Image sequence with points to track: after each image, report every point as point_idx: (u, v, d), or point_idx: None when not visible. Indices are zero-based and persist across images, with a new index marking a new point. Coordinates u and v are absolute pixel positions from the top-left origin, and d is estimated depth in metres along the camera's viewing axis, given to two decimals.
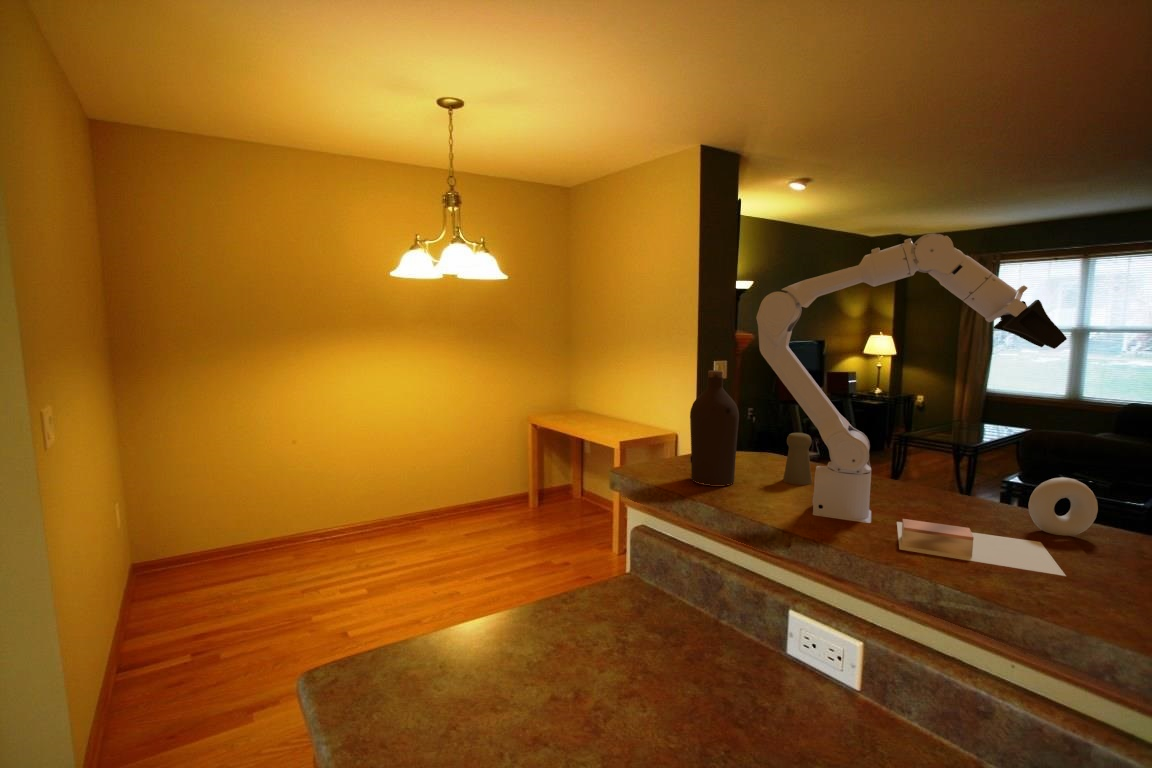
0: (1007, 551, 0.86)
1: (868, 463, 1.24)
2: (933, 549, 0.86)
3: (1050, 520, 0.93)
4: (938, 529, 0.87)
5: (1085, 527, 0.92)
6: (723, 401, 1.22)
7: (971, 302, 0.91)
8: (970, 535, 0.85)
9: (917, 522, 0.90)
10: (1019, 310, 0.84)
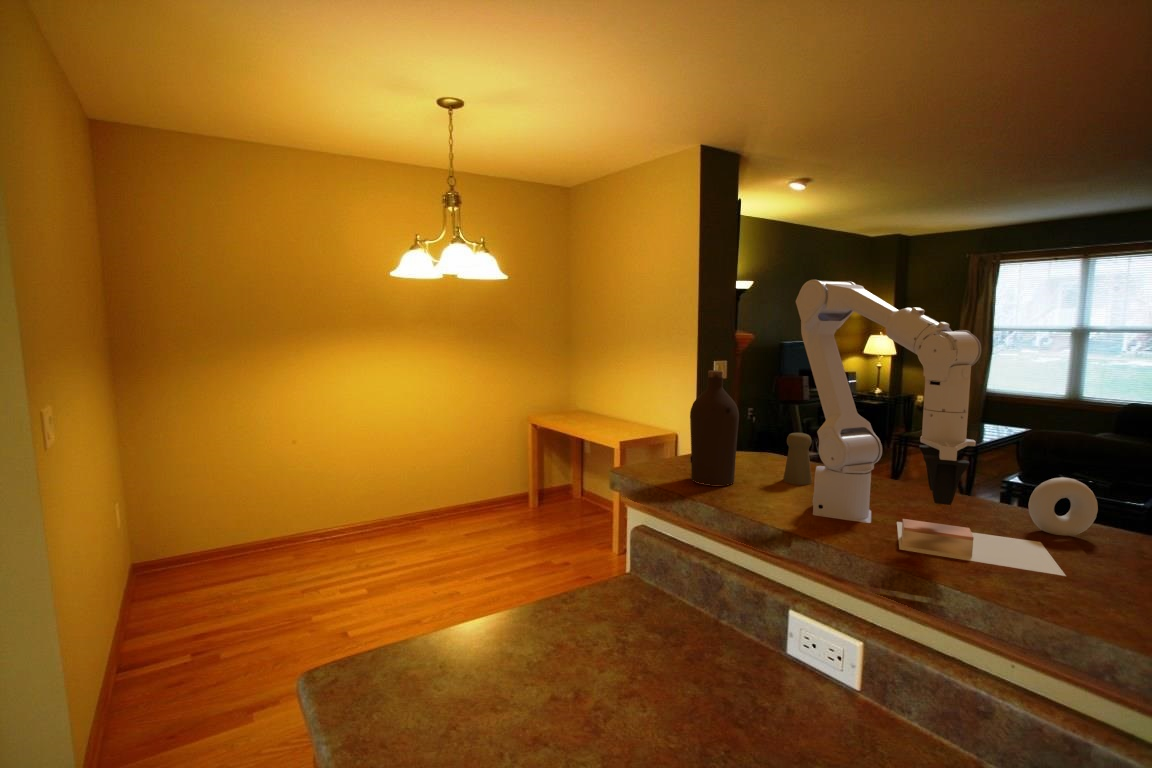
0: (1007, 551, 0.86)
1: None
2: (933, 549, 0.86)
3: (1050, 520, 0.93)
4: (938, 529, 0.87)
5: (1085, 527, 0.92)
6: (723, 401, 1.22)
7: (927, 416, 0.86)
8: (970, 535, 0.85)
9: (917, 522, 0.90)
10: (947, 457, 0.80)
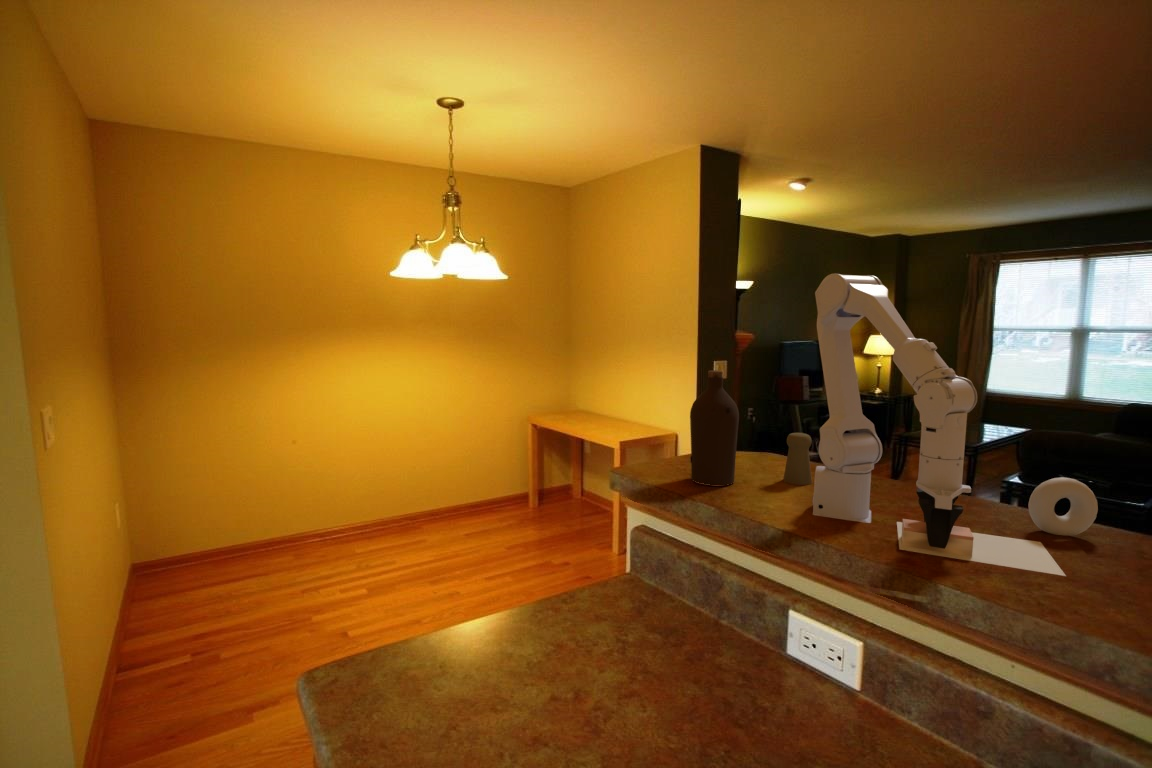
0: (1007, 551, 0.86)
1: None
2: (933, 549, 0.86)
3: (1050, 520, 0.93)
4: None
5: (1085, 527, 0.92)
6: (723, 401, 1.22)
7: (923, 462, 0.87)
8: (970, 535, 0.85)
9: (917, 522, 0.90)
10: (942, 506, 0.81)
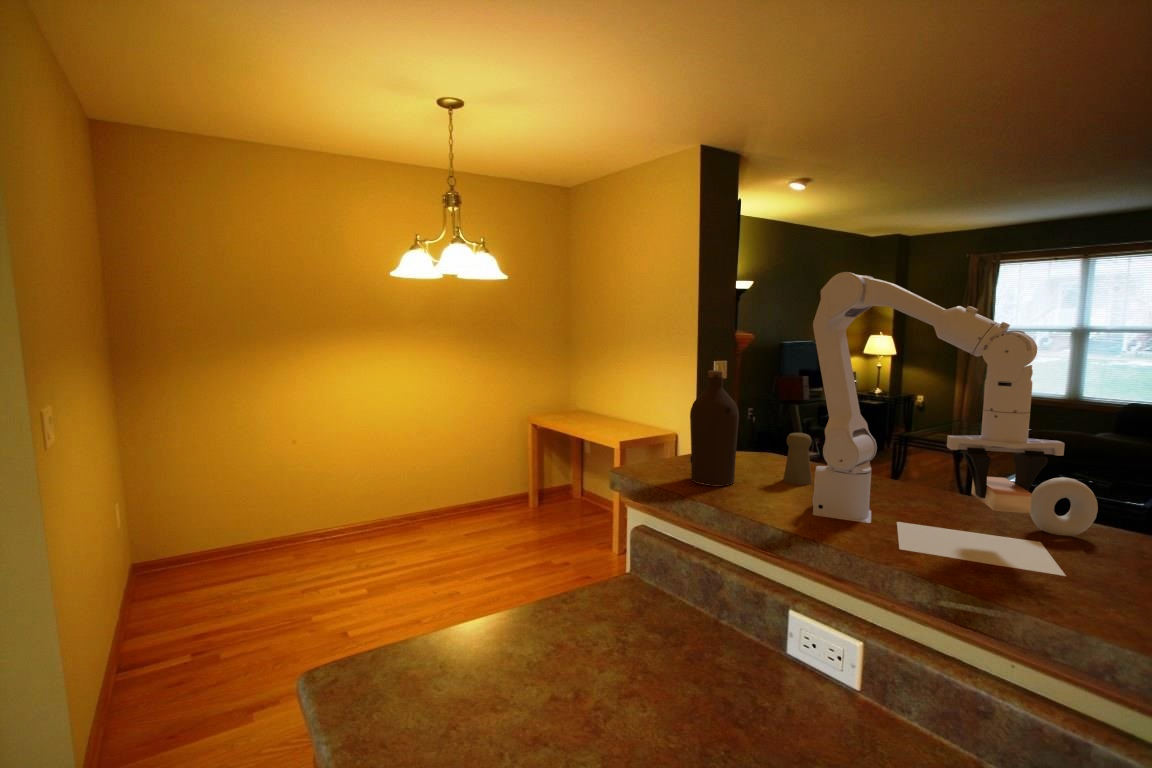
0: (1007, 551, 0.86)
1: None
2: (981, 499, 0.88)
3: (1050, 520, 0.93)
4: (993, 483, 0.87)
5: (1085, 527, 0.92)
6: (723, 401, 1.22)
7: None
8: (1000, 490, 0.83)
9: (1003, 480, 0.89)
10: (948, 446, 0.89)
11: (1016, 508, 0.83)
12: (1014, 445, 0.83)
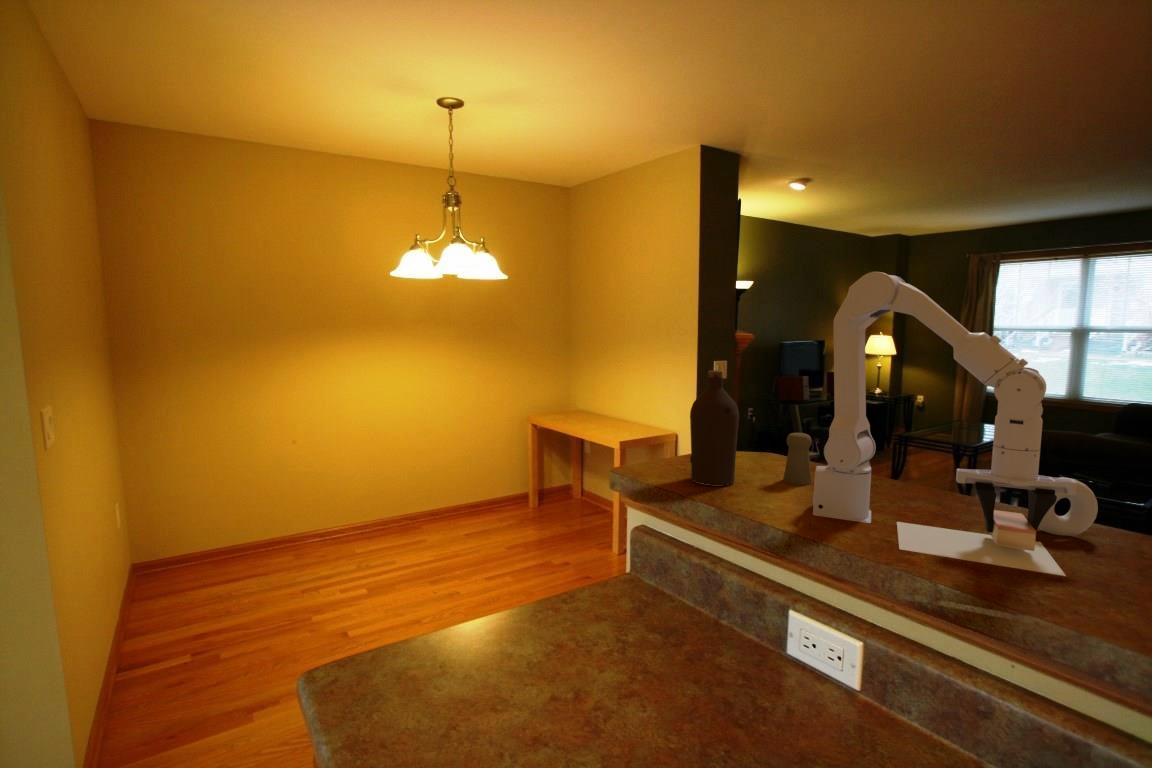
0: (1007, 551, 0.86)
1: None
2: (990, 533, 0.89)
3: (1050, 520, 0.93)
4: (1002, 518, 0.88)
5: (1085, 527, 0.92)
6: (723, 401, 1.22)
7: None
8: (1003, 526, 0.85)
9: (1017, 516, 0.89)
10: (956, 479, 0.90)
11: (1020, 545, 0.84)
12: (1018, 482, 0.83)
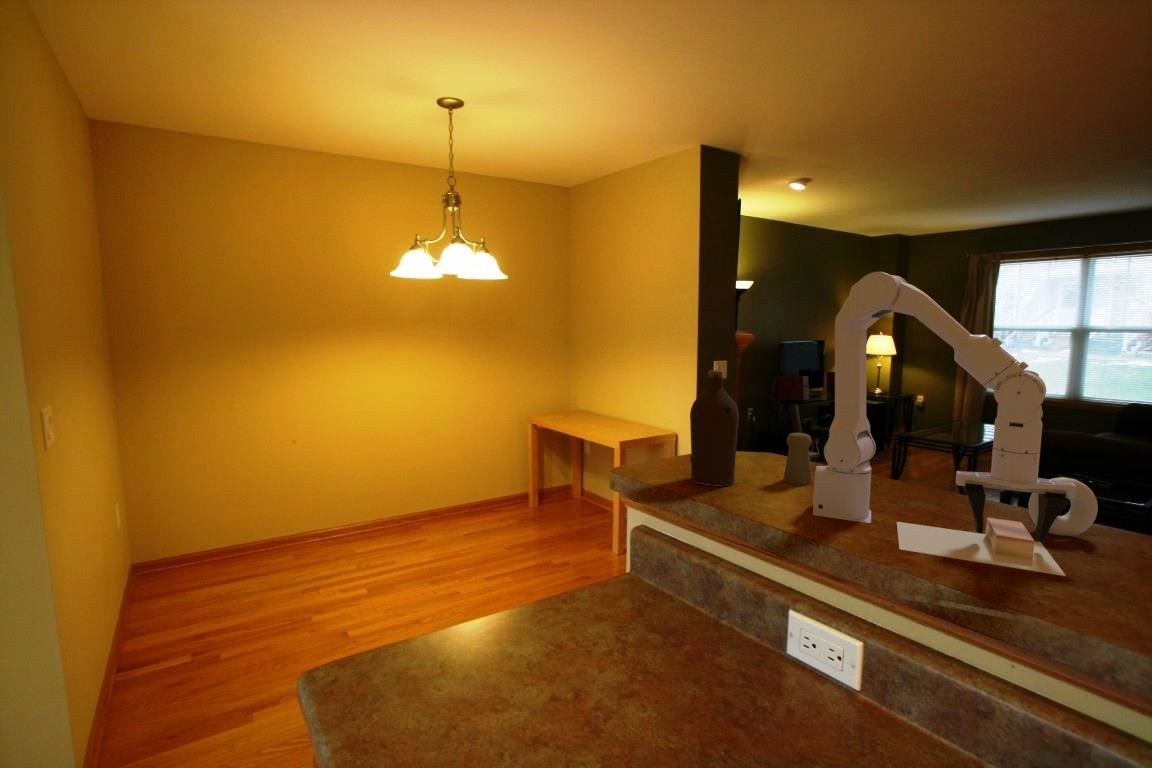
0: None
1: None
2: (989, 542, 0.89)
3: None
4: (1001, 527, 0.88)
5: (1085, 527, 0.92)
6: (723, 401, 1.22)
7: None
8: (1002, 535, 0.85)
9: (1016, 524, 0.89)
10: (956, 481, 0.91)
11: (1018, 554, 0.84)
12: (1018, 485, 0.83)
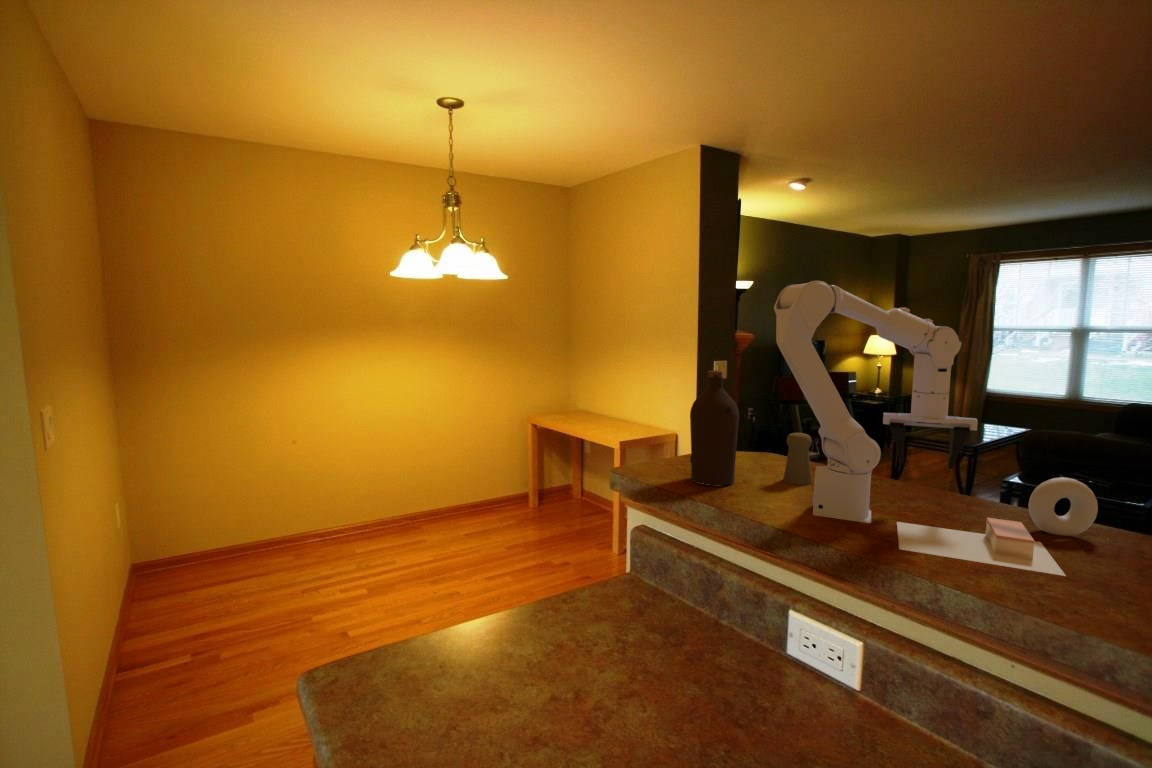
0: None
1: None
2: (989, 542, 0.89)
3: (1050, 520, 0.93)
4: (1001, 527, 0.88)
5: (1085, 527, 0.92)
6: (723, 401, 1.22)
7: None
8: (1002, 535, 0.85)
9: (1016, 524, 0.89)
10: None
11: (1018, 554, 0.84)
12: (930, 420, 1.00)
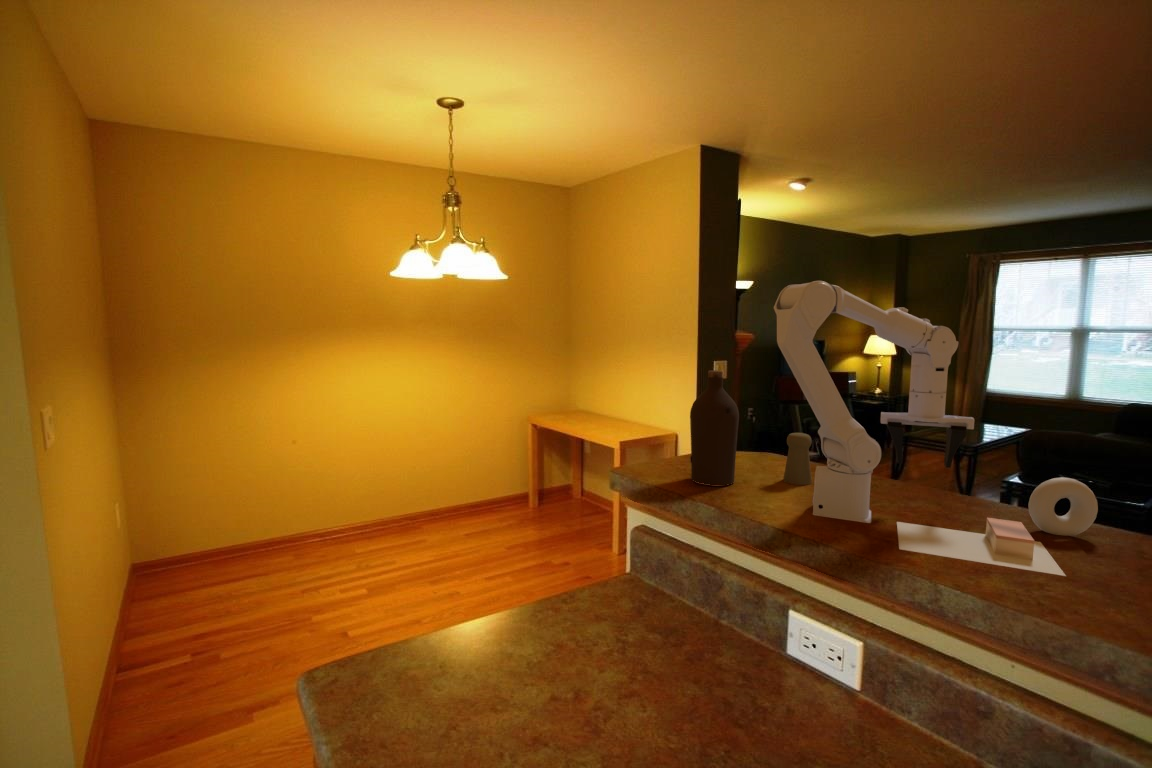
0: None
1: None
2: (989, 542, 0.89)
3: (1050, 520, 0.93)
4: (1001, 527, 0.88)
5: (1085, 527, 0.92)
6: (723, 401, 1.22)
7: None
8: (1002, 535, 0.85)
9: (1016, 524, 0.89)
10: None
11: (1018, 554, 0.84)
12: (928, 419, 1.00)
